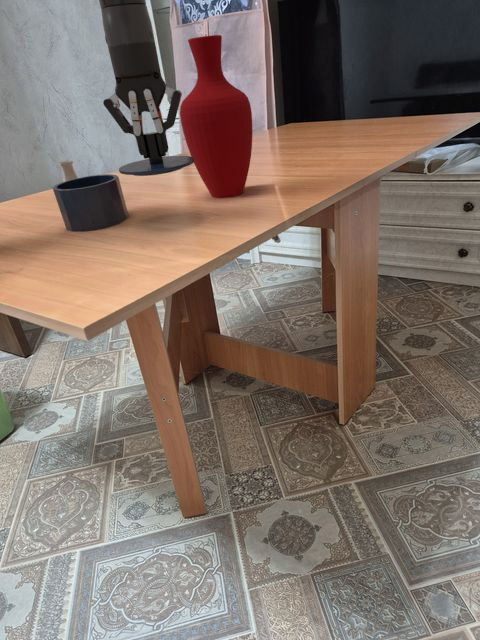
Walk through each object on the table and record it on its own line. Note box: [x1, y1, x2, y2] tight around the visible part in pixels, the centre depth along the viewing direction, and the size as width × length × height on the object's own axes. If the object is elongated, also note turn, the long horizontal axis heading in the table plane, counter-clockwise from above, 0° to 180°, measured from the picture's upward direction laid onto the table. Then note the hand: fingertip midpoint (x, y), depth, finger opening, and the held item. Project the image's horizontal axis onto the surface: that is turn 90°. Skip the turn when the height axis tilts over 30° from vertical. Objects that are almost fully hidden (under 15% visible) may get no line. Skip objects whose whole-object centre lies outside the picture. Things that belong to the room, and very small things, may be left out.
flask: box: [57, 160, 79, 182], centre depth 111 cm, size 7×7×10 cm
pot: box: [52, 173, 129, 233], centre depth 94 cm, size 13×13×8 cm
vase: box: [179, 34, 253, 199], centre depth 97 cm, size 15×15×30 cm
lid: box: [118, 131, 194, 177], centre depth 83 cm, size 14×14×6 cm
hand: (155, 156), depth 84 cm, fingers closed on lid, 2 cm apart
